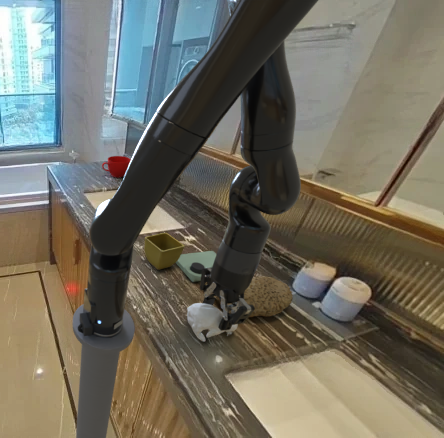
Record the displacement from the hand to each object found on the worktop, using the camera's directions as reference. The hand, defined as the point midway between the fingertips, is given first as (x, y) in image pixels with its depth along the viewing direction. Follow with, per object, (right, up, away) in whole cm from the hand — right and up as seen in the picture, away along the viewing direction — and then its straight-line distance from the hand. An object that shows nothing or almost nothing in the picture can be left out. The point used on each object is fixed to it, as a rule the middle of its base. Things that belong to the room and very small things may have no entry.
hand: (214, 318), depth 67 cm
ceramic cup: (-3, +49, +99) cm, 110 cm away
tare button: (+5, +8, +19) cm, 21 cm away
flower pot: (-4, +9, +26) cm, 27 cm away
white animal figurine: (0, -4, +2) cm, 5 cm away
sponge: (+16, 0, +10) cm, 19 cm away
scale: (+10, +8, +24) cm, 27 cm away
